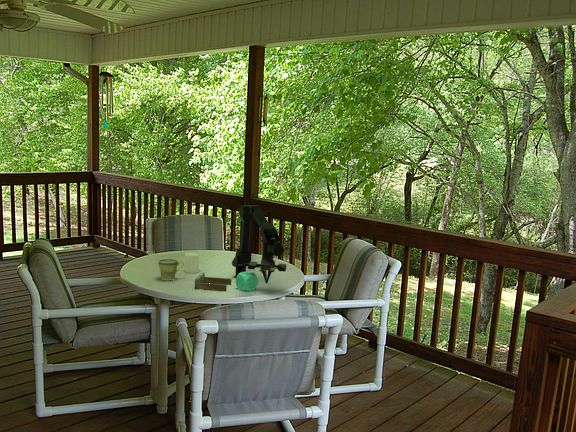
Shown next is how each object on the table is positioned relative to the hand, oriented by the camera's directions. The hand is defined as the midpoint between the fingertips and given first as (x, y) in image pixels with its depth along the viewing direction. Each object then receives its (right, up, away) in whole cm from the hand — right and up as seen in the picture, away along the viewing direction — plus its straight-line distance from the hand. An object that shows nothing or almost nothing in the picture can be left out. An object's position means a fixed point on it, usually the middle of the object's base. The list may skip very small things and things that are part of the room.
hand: (266, 283), depth 275 cm
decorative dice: (-10, -3, +1) cm, 11 cm away
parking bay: (-27, -2, +3) cm, 27 cm away
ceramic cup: (-50, 0, +12) cm, 52 cm away
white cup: (-43, +2, +31) cm, 53 cm away
